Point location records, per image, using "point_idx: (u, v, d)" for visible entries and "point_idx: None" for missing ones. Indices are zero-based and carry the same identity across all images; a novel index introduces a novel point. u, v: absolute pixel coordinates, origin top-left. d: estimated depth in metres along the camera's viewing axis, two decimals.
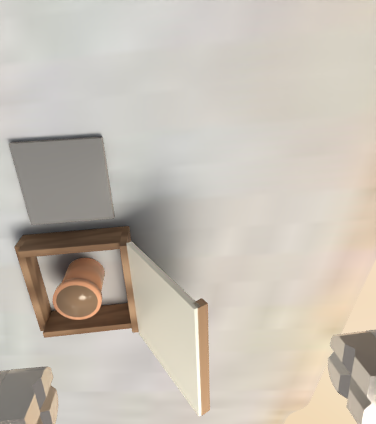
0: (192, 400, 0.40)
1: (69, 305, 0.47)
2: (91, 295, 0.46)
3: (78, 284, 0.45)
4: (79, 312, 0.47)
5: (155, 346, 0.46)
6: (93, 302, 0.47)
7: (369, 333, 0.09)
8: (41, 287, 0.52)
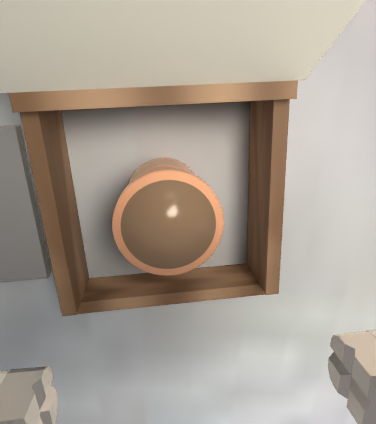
0: None
1: (178, 243, 0.20)
2: (152, 193, 0.19)
3: (118, 219, 0.19)
4: (201, 224, 0.20)
5: (309, 1, 0.13)
6: (173, 190, 0.19)
7: (369, 333, 0.09)
8: (184, 275, 0.28)
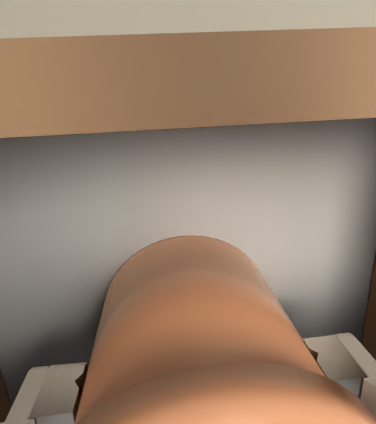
0: None
1: None
2: None
3: None
4: None
5: None
6: None
7: (334, 337, 0.09)
8: None
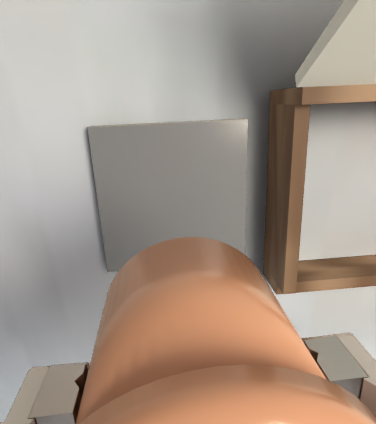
0: None
1: None
2: None
3: None
4: None
5: None
6: None
7: (334, 337, 0.09)
8: (365, 261, 0.29)
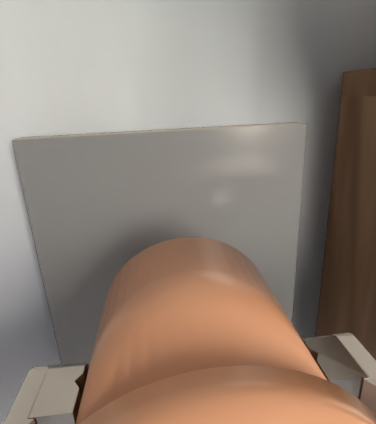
0: None
1: None
2: None
3: None
4: None
5: None
6: None
7: (335, 337, 0.09)
8: None
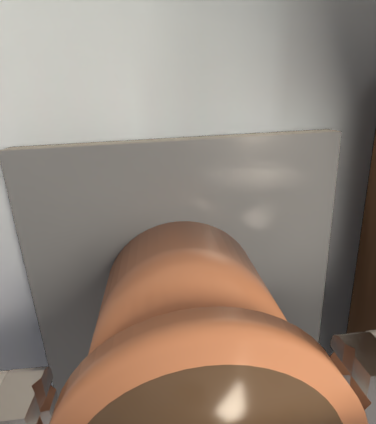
0: None
1: None
2: (162, 406, 0.06)
3: None
4: None
5: None
6: (230, 393, 0.06)
7: (369, 333, 0.09)
8: None
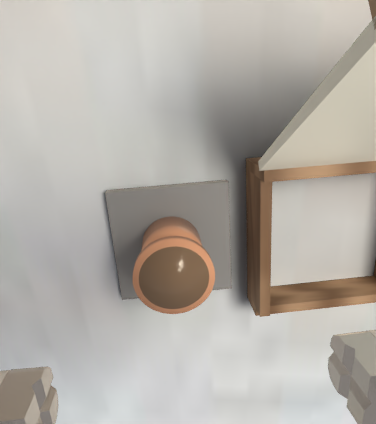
0: None
1: (181, 290, 0.27)
2: (161, 256, 0.26)
3: (136, 274, 0.26)
4: (198, 276, 0.27)
5: None
6: (177, 253, 0.26)
7: (369, 333, 0.09)
8: (329, 285, 0.36)
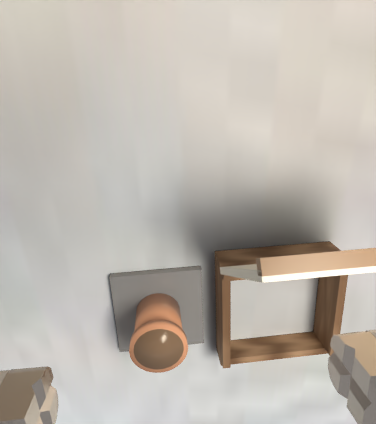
0: None
1: (163, 357, 0.38)
2: (150, 335, 0.37)
3: (132, 347, 0.37)
4: (175, 348, 0.38)
5: None
6: (161, 333, 0.37)
7: (369, 333, 0.09)
8: (278, 340, 0.48)
